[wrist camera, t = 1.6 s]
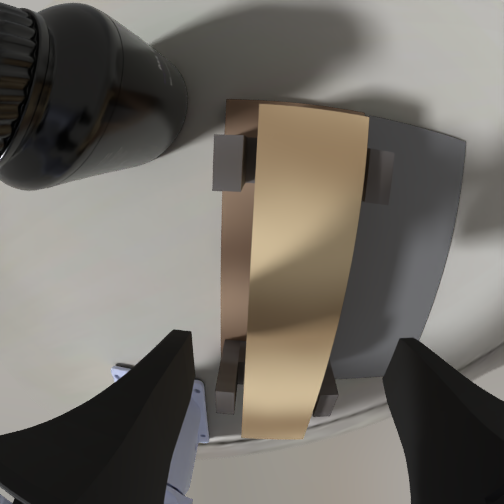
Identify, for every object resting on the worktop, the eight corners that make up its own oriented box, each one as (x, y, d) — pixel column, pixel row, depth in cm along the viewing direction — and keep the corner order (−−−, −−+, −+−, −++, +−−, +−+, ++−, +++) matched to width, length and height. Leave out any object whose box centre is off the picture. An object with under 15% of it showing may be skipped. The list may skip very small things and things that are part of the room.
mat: (401, 371, 20) (403, 374, 20) (322, 375, 20) (323, 379, 20) (462, 141, 13) (465, 141, 13) (367, 116, 14) (369, 115, 13)
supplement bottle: (205, 61, 13) (91, -70, 2) (174, 177, 15) (7, 259, 4) (102, 53, 12) (-52, 6, 1) (77, 156, 15) (-89, 202, 4)
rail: (298, 396, 17) (302, 439, 14) (244, 394, 17) (241, 437, 14) (341, 123, 11) (369, 117, 8) (260, 115, 11) (259, 103, 8)
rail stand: (316, 375, 20) (326, 433, 15) (223, 371, 20) (213, 430, 15) (358, 114, 14) (403, 103, 8) (228, 102, 14) (210, 80, 9)
